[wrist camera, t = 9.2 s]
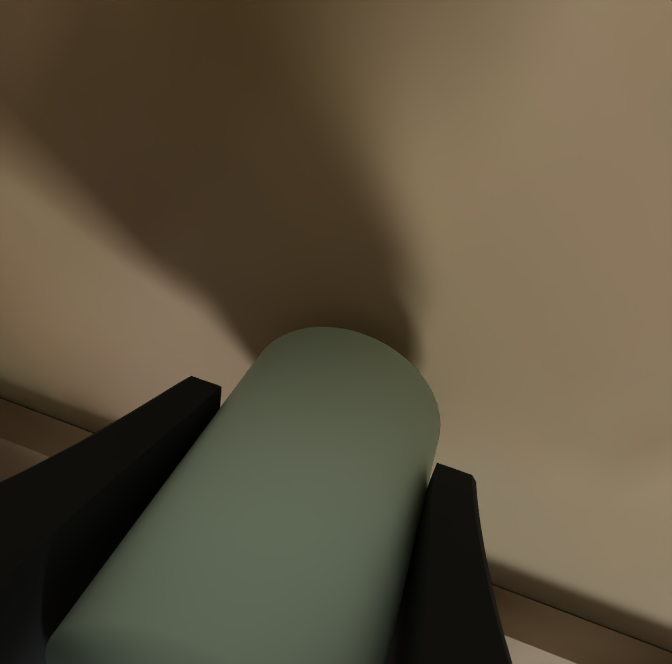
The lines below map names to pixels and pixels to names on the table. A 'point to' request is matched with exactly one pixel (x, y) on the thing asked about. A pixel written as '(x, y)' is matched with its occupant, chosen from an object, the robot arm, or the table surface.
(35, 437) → the bench board
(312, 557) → the dowel
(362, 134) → the table surface
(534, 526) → the table surface
